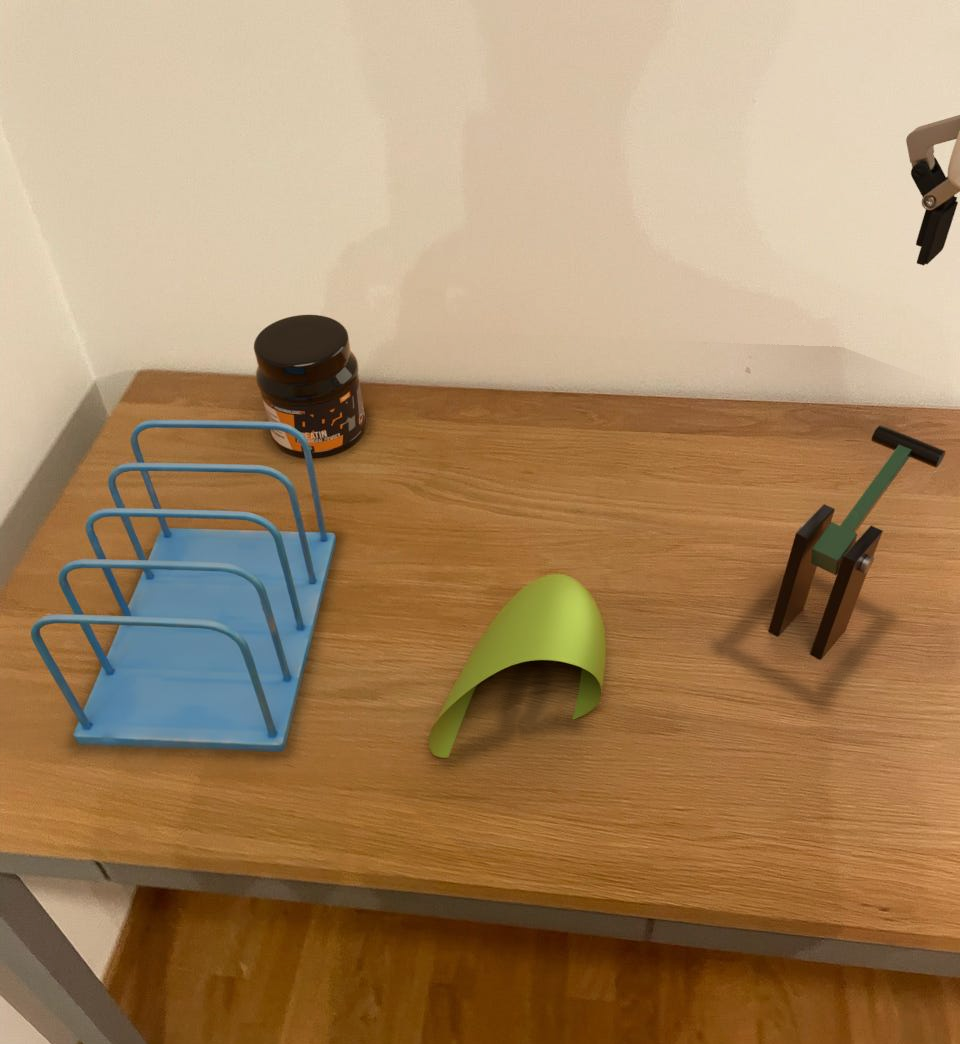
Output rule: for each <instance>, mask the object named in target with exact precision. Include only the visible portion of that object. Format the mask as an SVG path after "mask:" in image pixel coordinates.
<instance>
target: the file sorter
mask: <svg viewBox="0 0 960 1044" xmlns="http://www.w3.org/2000/svg"><path fill="white" fill-rule="evenodd" d="M155 428H160V429H161V428H163V429H167V428H168V429H174V428H175V429H230V430H231V429H233V430H235V429H236V430H267V431H270V430H280V431H284V432H286V433H288V434H290V435H293V436H294V437H295V438H296V439H297V440H298V441H299V442H300V444H301V445H302V448H303V451H304V455H305V458H304V460H305V465H306V470H307V474H308V479H309V484H310V489H311V494H312V500H313V504H314V510H315V514H316V520H317V526H318V531H319V532H317V531H306V528H305V525H304V521H303V517H302V512H301V507H300V504H299V500H298V495H297V492H296V488H295V486H294V483H292V480H290V478H289V477H288V476H286V475H285V474H284V473H283V472H281V471H280V470H277V469H276V468H273V467H270V466H267V465H262V464H237V463H236V464H233V463H191V462H190V463H189V462H188V463H187V462H186V463H185V462H183V463H181V462H146V461H145V459H144V457H143V453H142V451H141V447H140V444H139V440H138V439H139V435H140V433H142V432H143V431H146V430H148V429H155ZM130 435H131V436H130V446H131V448H132V452H133V455H134V457H135V460H136V462H126V463H122V464H119V465H117V466H116V467H114V468H113V469H112V471H111V472H110V474H109V476H108V480H107V486H108V490H109V492H110V495H111V498H112V500H113V502H114V505H115V507H108V508H107V507H106V508H101V509H98V510H95V511H94V512H93V513H91V514H90V515H89V516H88V519H87V521H86V522H85V532H86V536H87V538H88V541H89V544H90V545H91V548H92V550H93V552H94V555H95V557H96V558H80V559H75V560H71V561H69V562H67V563H66V564H64V565H63V566H62V568H61V569H60V571H59V573H58V584H59V586H60V589H61V591H62V594H63V595H64V596H65V599H66V601H67V603H68V605H69V607H70V609H71V611H72V613H73V614H72V613H71V614H66V613H63V614H62V613H60V614H48V615H44V616H42V617H40V618H38V619H37V620H36V621H35V622H34V623H33V625H32V627H31V629H30V637H31V641H32V643H33V644H34V647H35V648H36V650H37V652H38V654H39V656H40V657H41V659H42V661H43V663H44V664H45V667H46V668H47V669H48V671H49V673H50V675H51V676H52V678H53V681H55V683H56V685H57V686H58V688H59V690H60V692H61V693H62V695H63V697H64V699H65V700H66V702H67V704H68V706H69V707H70V709H71V710H72V712H73V713H74V715H75V717H76V719H77V720H78V721H77V724H76V726H75V729H74V731H73V733H72V734H73V737H74V739H75V741H76V743H77V744H78V745H81V746H83V745H84V746H113V747H136V748H137V747H138V748H168V749H170V748H171V749H191V750H193V749H194V750H195V749H196V750H222V751H245V752H272V753H274V752H275V753H280V752H281V753H282V752H283V751H285V749H286V747H287V741H288V737H289V734H290V729H291V725H292V721H293V717H294V714H295V710H296V704H297V701H298V697H299V694H300V688H301V685H302V681H303V677H304V673H305V668H306V664H307V661H308V657H309V652H310V649H311V643H312V640H313V638H314V637H313V636H314V632H315V628H316V624H317V620H318V616H319V612H320V608H321V604H322V599H323V595H324V592H325V588H326V583H327V580H328V575H329V571H330V567H331V563H332V559H333V555H334V551H335V546H336V543H337V537H336V534H335V533H334V532H327V530H326V523H325V517H324V512H323V508H322V503H321V498H320V497H321V496H320V493H319V492H320V491H319V487H318V482H317V475H316V470H315V465H314V459H312V455H311V450H310V447H309V444H308V442H307V440H306V438H305V437H304V435H303V434H302V433H301V432H299V431H298V430H297V429H295V428H293V427H292V426H289V425H287V424H284V423H278V422H268V421H259V420H258V421H256V420H255V421H254V420H211V419H206V420H205V419H149V420H144V421H142V422H140V423H138V424H137V425H136V426H135V427H134V429H133V431H132V433H131V434H130ZM127 472H140V474H141V477H142V479H143V482H144V485H145V487H146V491H147V494H148V496H149V498H150V501H151V504H152V507H153V508H136V507H135V508H134V507H133V508H132V507H131V508H127V507H126V506H125V504H124V501H123V500H122V497H121V494H120V491H119V490H118V487H117V482H116V480H117V478H118V476H120V475H121V474H124V473H127ZM149 472H191V473H192V472H193V473H194V472H196V473H197V472H198V473H236V474H237V473H239V474H240V473H241V474H261V475H265V476H269V477H272V478H274V479H275V480H277V481H279V482H280V483H281V484H282V485H283V486H284V487H285V489H286V491H287V492H288V496H289V500H290V504H291V505H290V506H291V509H292V512H293V516H294V520H295V524H296V528H297V529H296V530H297V531H284V530H279V529H278V528H277V527H276V525H275V524H274V523H272V522H271V521H270V520H269V519H267V518H265V517H263V516H262V515H259V514H256V513H253V512H249V511H241V510H240V511H239V510H237V511H236V510H215V509H213V510H210V509H176V508H173V509H172V508H162V506H161V504H160V501H159V498H158V496H157V493H156V491H155V488H154V487H155V486H154V484H153V482H152V479H151V475H150V473H149ZM110 517H119V518H120V519H121V522H122V524H123V526H124V529H125V531H126V533H127V536H128V538H129V540H130V543H131V545H132V547H133V549H134V552H135V554H136V557H137V559H107V556H106V555H105V552H104V549H103V548H102V545H101V543H100V541H99V537H98V536H97V534H96V532H95V527H94V525H95V523H96V522H97V521H98V520H100V519H104V518H110ZM131 518H157V520H158V523H159V525H160V530H159V532H158V535H157V538H156V540H155V542H154V545H153V547H152V549H151V552H150V554H149V555H148V556H149V557H148V559H147V558H146V555H145V553H144V550H143V548H142V546H141V543H140V541H139V537H138V535H137V533H136V531H135V529H134V526H133V522H132V520H131ZM166 518H171V519H173V518H176V519H201V520H203V519H206V520H207V519H208V520H235V521H247V522H250V523H251V522H252V523H254V524H257V525H260V526H261V527H263V528H265V530H250V529H249V530H248V529H215V528H214V529H213V528H209V529H208V528H176V527H171V528H170V527H169V526H168V523H167V520H166ZM78 569H101V570H102V572H103V574H104V576H105V579H106V581H107V583H108V585H109V587H110V589H111V592H112V594H113V597H114V598H115V600H116V602H117V605H118V607H119V608H120V611H121V613H122V615H102V614H100V615H98V614H97V615H96V614H85V613H84V611H83V610H82V608H81V606H80V603H79V602H78V600H77V598H76V596H75V594H74V592H73V590H72V587H71V585H70V583H69V580H68V574H69V573H70V572H72V571H74V570H78ZM112 569H121V570H124V569H126V570H127V569H128V570H142V573H141V576H140V578H139V580H138V582H137V585H136V587H135V589H134V592H133V594H132V596H131V598H130V601H129V603H128V604H127V601H126V599H125V597H124V595H123V593H122V591H121V588H120V586H119V584H118V582H117V579H116V577H115V575H114V573H113V571H112ZM53 624H71V625H79V626H80V628H81V630H82V631H83V633H84V635H85V637H86V639H87V640H88V642H89V644H90V646H91V648H92V650H93V652H94V654H95V656H96V658H97V659H98V662H99V663H100V665H101V669H100V670H99V673H98V675H97V678H96V680H95V682H94V685H93V687H92V689H91V691H90V694H89V697H88V699H87V701H86V704H85V706H84V708H82V707H81V705H80V703H79V701H78V700H77V697H76V696H75V694H74V693H73V690H72V689H71V687H70V686H69V683H68V682H67V680H66V679H65V677H64V675H63V673H62V672H61V670H60V667H59V666H58V665H57V663H56V661H55V660H54V658H53V656H52V654H51V652H50V650H49V648H48V647H47V644H46V643H45V641H44V639H43V637H42V635H41V629H42V628H43V627H45V626H48V625H53ZM91 625H100V626H101V625H103V626H105V625H106V626H118V629H117V631H116V633H115V636H114V638H113V641H112V643H111V645H110V648H109V649H108V652H107V654H106V653H105V652H104V650H103V648H102V646H101V644H100V642H99V640H98V638H97V636H96V634H95V632H94V631H93V628H92V626H91Z"/></svg>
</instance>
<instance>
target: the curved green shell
mask: <svg viewBox="0 0 960 1044" xmlns="http://www.w3.org/2000/svg"><path fill="white" fill-rule="evenodd" d="M598 606H599V605H598V604H597V602H596V601H595V599H594V597H593V596H592V595H591V592H590V591H589V590H588V589H587V588H586V587H585V586H584V585H583V584H582V583H581V582H579V581H578V580H577V579H575V578H573V577H571V576H569V575H567V574H562V573H551V574H547V575H543V576H540V577H537V578H536V579H534V580H532V581H531V582H529V583H527V584H526V585H525V586H523V587H522V588H520V590H519V591H517V592H516V593H515V594H514V595H513V596H512V597H511V598H510V599H509V600H508V601H507V602H506V603H505V604H504V605H503V607H502V608H501V609H500V610H499V612H498V613H497V614H496V615H495V617H494V618H493V619H492V621H491V622H490V624H489V625H488V626H487V628H486V629H485V631H484V632H483V634H482V635H481V636H480V639H479V640H478V642H477V643H476V645H475V646H474V648H473V650H472V651H471V653H470V654H469V656H468V659H467V660H466V663H465V664H464V665H463V668H462V669H461V671H460V673H459V675H458V677H457V679H456V680H455V683H454V685H453V686H452V688H451V690H450V692H449V694H448V696H447V698H446V700H445V702H444V704H443V706H442V708H441V710H440V712H439V714H438V716H437V718H436V720H435V722H434V724H433V726H432V728H431V730H430V732H429V735H428V741H427V743H428V748H429V751H430V753H431V754H432V755H434V756H435V757H437V758H444V759H446V758H449V757H450V754H451V751H452V749H453V746H454V743H455V740H456V738H457V735H458V733H459V730H460V728H461V724H462V722H463V720H464V717H465V715H466V713H467V710H468V707H469V704H470V702H471V700H472V697H473V695H474V692H475V691H476V688H477V686H478V685H479V684H480V683H481V682H483V681H485V680H486V679H488V678H489V677H491V676H493V675H495V674H496V673H499V672H501V671H502V670H504V669H506V668H509V667H511V666H514V665H517V664H521V663H526V662H530V661H531V662H532V661H553V662H561V663H566V664H569V665H573V666H576V667H579V668H581V672H580V681H579V686H578V692H577V698H576V702H575V706H574V711H573V716H572V721H574V720H576V719H578V718H581V717H583V716H585V715H587V714H589V713H590V712H591V711H592V710H594V709H595V708H596V707H597V706H598V704H599V703H600V700H601V698H602V693H603V685H604V680H605V674H606V673H605V672H606V662H607V634H606V629H605V624H604V620H603V617H602V614H601V611H600V608H599V607H598Z"/></svg>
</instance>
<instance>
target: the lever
mask: <svg viewBox="0 0 960 1044" xmlns="http://www.w3.org/2000/svg"><path fill="white" fill-rule="evenodd" d="M871 442H872V443H874V444H877V445H879V446H882V447H884V448H886V449H887V448H888V449H889V450H892V451H893V452H892V453H891V455H890V456H889V457H888V459H887V460H886V461H885V462H884V464H883V465H882V467H881V468H880V470H879V471H878V473H877V474H876V475H875V477H874V478H873V480H872V481H871V482H870V484H869V485H868V486H867V487H866V489H865V490H864V492H863V493H862V494H861V496H860V497H859V499H858V500H857V501H856V503H855V504H854V506H853V507H852V508H851V509H850V511H849V512H848V514H847V515H846V517H845V518H844V519H843V521H842V522H841V523H840V524H838V523H835V522H833V521H831V523H830V524H829V526H828V527H827V529H826V530H825V531H824V533H823V534H822V535H821V537H820V538H819V540H818V541H817V542H816V544H815V545H814V546H813V548H812V558H811V563H812V564H814V565H816V566H817V568H820V569H822V570H824V571H826V572H828V573H830V574H832V575H834V576H837V574H838V571H839V568H840V565H841V562H842V559H843V556H844V555H845V554H846V553H847V552H848V550H849V549H850V548H851V547H852V546H853V545H854V544H855V543H856V542H857V538H858V533H857V531H858V530H859V529H860V527H861V526H862V524H863V523H864V522H865V521H866V519H867V518H868V516H869V514H870V513H871V512H872V510H873V509H874V508H875V506H876V505H877V503H878V502H879V501H880V500H881V498H882V497H883V495H885V493H886V492H887V490H888V488H889V487H890V485H891V484H892V483H893V481H894V480H895V478H896V477H897V476H898V474H899V473H900V471H901V470H902V469H903V467H904V466H905V465H906V464H907V462H908V460H909V459H910V458H911V459H912V460H913V459H914V460H916V461H919V462H921V463H922V464H925V465H927V466H931V467H933V468H935V469H937V468H938V467H939V466H940V465H941V463H942V461H943V460H944V457H945V455H946V450H944V449H942V448H939V447H936V446H934V445H932V444H929V443H927V442H924V441H923V440H919V439H917V438H914V437H912V436H910V435H907V434H905V433H902V432H900V431H897V430H894V429H892V428H890V427H887V426H885V425H883V424H879V425H877V427H876V428H875V429H874V431H873V433H872V436H871Z"/></svg>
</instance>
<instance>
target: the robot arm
mask: <svg viewBox="0 0 960 1044" xmlns="http://www.w3.org/2000/svg"><path fill="white" fill-rule="evenodd" d="M954 140H955V142H954V145H953V149H952V152H951V155H950V158H949V163H948V166H947V176H946V174H945V173H944V171H943V169H942V167H941V164H940V162H939V161H938V159H937V158H936V157H935V155H934V153H935V148H934V147H935V145H940V144H943V143H946V142H950V141H954ZM905 142H906V143H905V144H906V147H907V153H908V159H909V163H910V164H911V170H910V176H911V178H912V180H913V182H914V184H915V185H916V187H917V189H918V191H919V193H920V195H921V197H922V199H921V206H922V207H923V209H925V211H924V213H923V218H922V221H921V224H920V228H919V231H918V235H917V238H916V242H915V245H916V246H917V247H920V249H919V252H918V256H917V259H916V264H917V265H920V266H925V265H928V264H930V262H931V261H932V260H934V259H935V258H936V257H937V256H938V255H939V254H940V253H941V252H942V251H943V250H944V248H945V245H946V241H947V239H948V235H949V232H950V229H951V226H952V222H953V220H954V218H955V217H954V216H955V214H956V211H957V207H958V204H959V202H958V200H957V199H958V197H957V196H955V195H957V194H958V193H960V114H958V115H955V116H951V117H947V118H944V119H941V120H937V121H933V122H931V123H927V124H923V125H919V126H918V127H916V128H915V129H914V130H912V131H911V132H909V133H908V135H907V136H906V139H905Z"/></svg>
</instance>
